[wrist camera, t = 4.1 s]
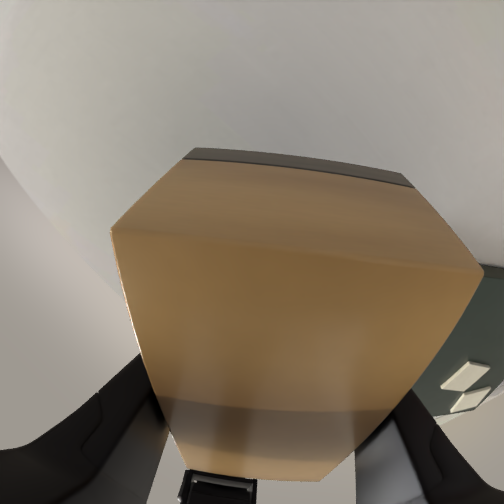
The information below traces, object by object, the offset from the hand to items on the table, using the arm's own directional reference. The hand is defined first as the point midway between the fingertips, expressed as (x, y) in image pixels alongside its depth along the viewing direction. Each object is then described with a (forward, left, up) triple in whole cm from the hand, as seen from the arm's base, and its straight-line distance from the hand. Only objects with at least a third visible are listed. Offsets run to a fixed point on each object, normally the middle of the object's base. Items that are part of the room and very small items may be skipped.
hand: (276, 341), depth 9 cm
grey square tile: (-14, -20, -8) cm, 26 cm away
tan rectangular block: (0, 0, -1) cm, 1 cm away
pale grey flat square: (-19, -24, -8) cm, 32 cm away
